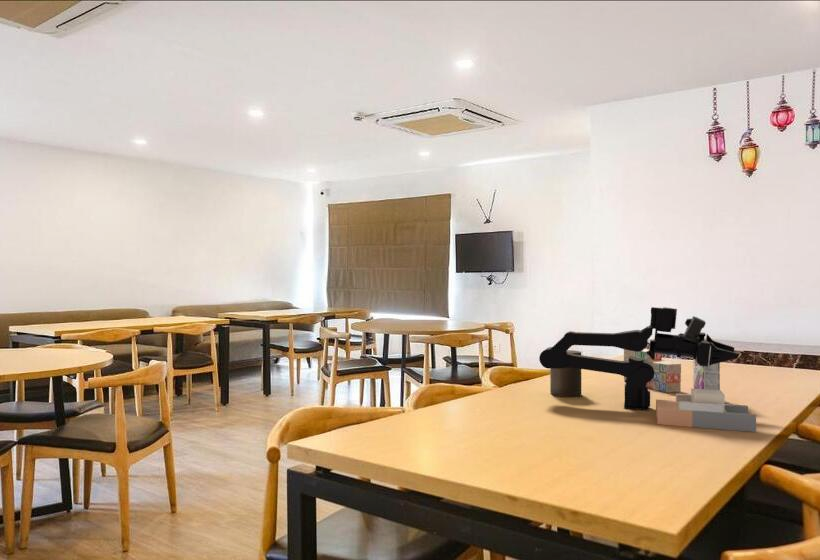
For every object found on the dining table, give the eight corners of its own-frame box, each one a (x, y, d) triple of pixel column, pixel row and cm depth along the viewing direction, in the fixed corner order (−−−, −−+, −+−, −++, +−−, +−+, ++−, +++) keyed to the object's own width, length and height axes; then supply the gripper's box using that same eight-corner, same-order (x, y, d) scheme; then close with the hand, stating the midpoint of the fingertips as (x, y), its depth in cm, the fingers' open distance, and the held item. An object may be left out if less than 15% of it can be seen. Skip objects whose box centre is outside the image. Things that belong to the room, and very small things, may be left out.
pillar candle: (582, 397, 186) (583, 349, 186) (550, 396, 187) (550, 348, 188) (579, 392, 195) (580, 346, 195) (549, 390, 197) (549, 345, 197)
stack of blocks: (681, 392, 196) (681, 354, 196) (665, 393, 194) (665, 355, 194) (638, 381, 216) (638, 347, 216) (623, 382, 214) (623, 347, 214)
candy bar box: (692, 396, 188) (692, 344, 188) (709, 397, 187) (709, 344, 187) (702, 403, 177) (702, 348, 177) (720, 404, 176) (720, 348, 176)
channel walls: (679, 409, 151) (679, 401, 151) (675, 400, 162) (676, 393, 162) (723, 412, 147) (723, 404, 147) (717, 403, 158) (717, 396, 158)
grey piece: (657, 424, 152) (657, 408, 152) (655, 414, 164) (655, 399, 164) (756, 432, 145) (756, 415, 145) (747, 420, 156) (747, 405, 156)
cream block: (693, 409, 152) (693, 393, 152) (691, 403, 158) (691, 388, 158) (724, 411, 149) (724, 395, 149) (720, 405, 156) (720, 390, 156)
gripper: (677, 321, 159) (744, 328, 153) (675, 312, 176) (735, 318, 170) (673, 362, 160) (739, 371, 154) (671, 349, 177) (730, 356, 171)
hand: (736, 352), depth 162 cm, fingers open, 9 cm apart
